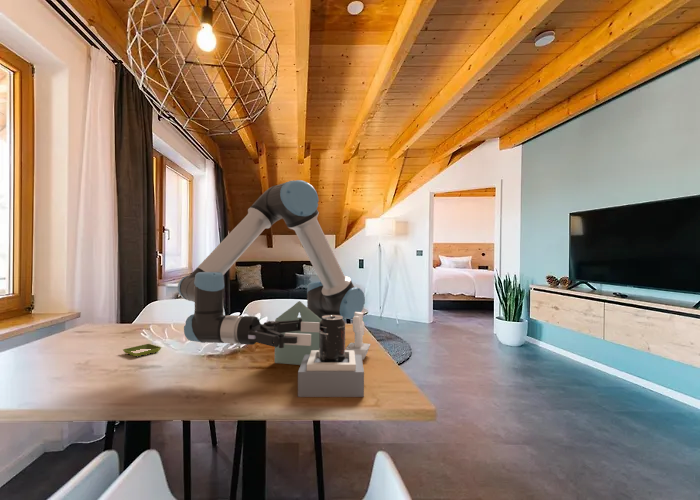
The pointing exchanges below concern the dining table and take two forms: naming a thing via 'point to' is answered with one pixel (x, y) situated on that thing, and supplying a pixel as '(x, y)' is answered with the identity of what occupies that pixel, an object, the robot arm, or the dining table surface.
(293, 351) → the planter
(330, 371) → the stand
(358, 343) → the figurine
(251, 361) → the dining table surface
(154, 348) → the green shallow square tray
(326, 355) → the beverage can
